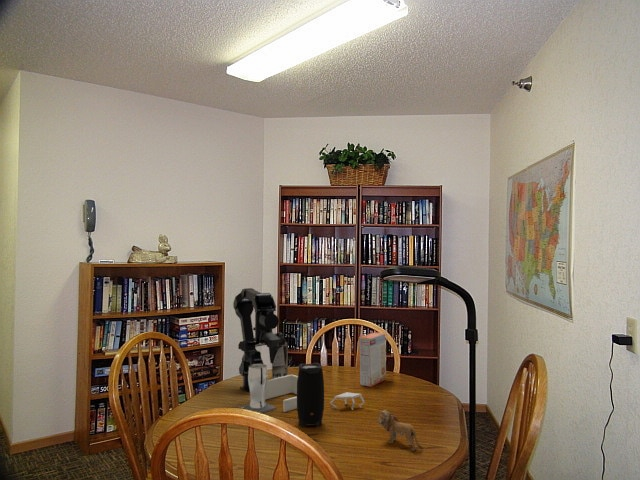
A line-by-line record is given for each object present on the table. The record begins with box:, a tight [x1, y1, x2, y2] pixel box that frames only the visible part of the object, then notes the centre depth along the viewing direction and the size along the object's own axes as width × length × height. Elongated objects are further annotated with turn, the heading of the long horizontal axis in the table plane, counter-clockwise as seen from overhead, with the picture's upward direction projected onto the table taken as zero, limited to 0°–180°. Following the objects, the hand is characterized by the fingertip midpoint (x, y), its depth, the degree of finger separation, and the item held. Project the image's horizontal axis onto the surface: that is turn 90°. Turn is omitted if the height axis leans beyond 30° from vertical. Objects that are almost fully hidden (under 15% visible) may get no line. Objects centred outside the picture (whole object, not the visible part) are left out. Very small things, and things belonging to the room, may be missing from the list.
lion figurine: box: [377, 409, 424, 452], centre depth 143 cm, size 15×5×9 cm, turn 53°
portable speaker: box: [296, 362, 325, 428], centre depth 160 cm, size 9×9×20 cm
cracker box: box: [358, 331, 387, 388], centre depth 208 cm, size 14×6×21 cm, turn 144°
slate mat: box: [237, 403, 277, 414], centre depth 174 cm, size 10×10×1 cm
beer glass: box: [248, 363, 268, 410], centre depth 174 cm, size 7×7×15 cm
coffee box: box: [271, 341, 289, 379], centre depth 211 cm, size 9×6×16 cm
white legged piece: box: [329, 391, 365, 411], centre depth 175 cm, size 12×8×5 cm
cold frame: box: [265, 373, 298, 413], centre depth 182 cm, size 17×17×7 cm
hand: (262, 365), depth 185 cm, fingers open, 9 cm apart
